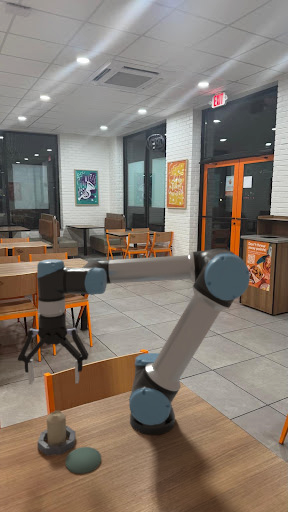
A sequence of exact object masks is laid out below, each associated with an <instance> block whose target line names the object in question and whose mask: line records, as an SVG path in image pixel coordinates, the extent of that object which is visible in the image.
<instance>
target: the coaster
mask: <svg viewBox="0 0 288 512" xmlns="http://www.w3.org/2000/svg"><path fill="white" fill-rule="evenodd" d="M101 462H102V456H101V453H100V451H99V450H97V449H96V448H94V447H91V446H90V447H89V446H83V447H78V448H75V449H74V450H71V451H70V452H69V453H68V454H67V456H66V457H65V467H66V468H67V470H68V471H70V472H71V473H74V474H77V475H78V474H87V473H90V472H93V471H94V470H96V469H97V468H98V467H99V465H101Z"/></svg>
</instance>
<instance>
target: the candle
mask: <svg viewBox="0 0 288 512" xmlns="http://www.w3.org/2000/svg"><path fill="white" fill-rule="evenodd" d="M66 422H67V421H66V414H65V413H64V412H62V411H61V410H54V411H53V412H52V411H51V412H50V413H49V415H48V416H47V417H46V427H47V428H46V430H47V435H48V439H47V444H48V445H60V444H62V443H64V442H66V441H67V436H66V426H67V423H66Z"/></svg>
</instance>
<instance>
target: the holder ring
mask: <svg viewBox="0 0 288 512" xmlns="http://www.w3.org/2000/svg"><path fill="white" fill-rule="evenodd" d="M76 436H77V434H76V431H75V430H74V429H73V428H71V427H70V426H68V425H66V438H68V440H67V439H66V442H64V443H62V444H60V445H48V442H46V441H48V435H47V429H45V430H42V431H41V432H40V434H39V437H38V439H37V449H38V450H39V451H40V452H41V453H43V454H44V455H45V456H62V455H64V454H65V453H67V452H69V451H70V450H71V449H73V448H74V446H75V442H76V439H77V438H76Z"/></svg>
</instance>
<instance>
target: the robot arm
mask: <svg viewBox="0 0 288 512" xmlns="http://www.w3.org/2000/svg"><path fill="white" fill-rule="evenodd" d="M36 272H37V273H36V278H37V299H38V302H37V303H38V304H37V305H38V314H39V315H38V326H39V328H38V329H37V328H36V329H35V328H34V327H31V328H30V329H29V330H28V332H27V338H26V341H25V343H24V344H23V346H22V349H21V351H20V353H19V354H18V358H17V361H18V362H23V363H24V372H25V373H28V374H27V375H28V385H32V384H33V382H34V380H35V375H34V373H35V370H34V359H32V358H33V356H35V355H36V353H37V352H38V351H39V350H40V348H42V346H43V345H44V344H46V345H47V346H51V345H54V346H56V345H57V346H58V345H59V344H60V345H61V346H62V347H64V348H65V350H66V351H67V352H68V353H70V355H71V356H72V357H73V359H75V362H74V375H75V377H74V378H75V379H74V380H75V384H79V381H80V373H81V372H82V371H83V366H84V365H83V361H87V360H88V358H89V352H88V351H87V348H86V347H85V345H84V344H83V341H82V340H81V338H80V336H79V335H78V328H77V327H76V326H74V327H72V328H67V323H66V322H67V321H66V319H67V318H66V317H67V316H66V294H69V295H70V294H73V295H91V296H94V295H103V294H104V293H105V292H106V289H107V285H108V284H121V283H123V284H125V283H126V284H127V283H142V282H145V283H146V282H161V281H163V282H165V281H177V280H178V281H179V280H190V281H192V282H193V283H194V284H192V290H193V296H192V297H191V299H190V300H189V302H188V304H187V306H186V308H185V309H184V311H183V313H182V314H181V316H180V317H179V319H178V321H177V322H176V324H175V326H174V328H173V329H172V331H171V333H170V335H169V337H168V338H167V339H166V342H165V343H164V344H163V346H162V348H161V349H160V352H159V353H158V352H157V353H156V352H155V353H153V352H148V353H142V354H138V356H136V357H135V358H134V360H135V361H134V370H135V371H134V378H133V382H132V387H131V393H130V396H129V399H128V400H129V402H128V403H129V405H128V406H129V407H128V408H129V411H130V415H129V420H130V421H129V423H130V426H131V427H132V428H133V430H135V431H137V432H139V433H141V434H144V435H147V436H149V435H150V436H151V435H153V436H155V435H157V436H158V435H162V434H165V433H168V432H169V431H171V430H172V429H173V428H174V427H175V424H176V414H175V411H174V408H173V405H172V402H173V401H174V399H175V397H176V396H177V394H178V392H179V391H180V389H181V382H180V379H181V377H182V375H183V374H184V372H185V371H186V369H187V367H188V366H189V364H190V362H191V361H192V359H193V357H194V356H195V354H196V353H197V351H198V349H199V347H200V346H201V344H202V342H203V341H204V340H205V338H206V337H207V334H208V333H209V331H210V329H211V328H212V326H213V324H214V323H215V321H216V320H217V317H219V316H220V315H219V314H220V313H221V311H224V310H228V309H230V307H231V306H232V304H233V303H234V301H235V299H238V298H240V297H241V296H243V294H244V293H245V292H246V291H247V289H248V288H249V284H250V279H251V276H250V270H249V268H248V266H247V264H246V263H245V261H244V260H243V259H242V257H240V256H238V254H235V253H234V252H233V251H231V250H229V249H225V248H214V249H207V250H200V251H199V250H197V251H196V250H195V251H191V252H190V253H189V254H186V255H185V254H184V255H171V256H155V257H153V256H151V257H137V258H136V257H135V258H120V259H119V258H118V259H105V260H102V259H92V260H90V261H88V262H87V263H85V264H84V265H83V266H82V267H66V266H65V262H64V260H61V259H57V258H56V259H43V260H41V261H39V262H38V263H37V269H36ZM67 334H68V335H69V336H70V337H72V341H73V342H74V344H75V345H76V347H75V346H74V345H73V344H72V343H71V342H70V341H69V339H68V337H66V336H67ZM36 336H38V337H39V338H40V340H39V341H38V343H37V344H36V345H35V346H34V347H33V348H32V350H30V352H29V353H28V354H27V355H26V353H27V351H28V349H29V347H30V345H31V344H32V342H33V338H35V337H36ZM76 348H77V349H76Z"/></svg>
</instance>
